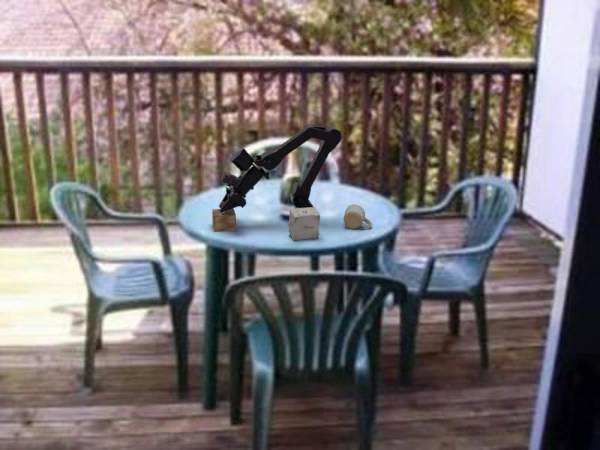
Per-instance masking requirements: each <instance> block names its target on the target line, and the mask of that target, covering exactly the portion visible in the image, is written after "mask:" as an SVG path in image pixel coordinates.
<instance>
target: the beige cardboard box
mask: <svg viewBox="0 0 600 450" xmlns="http://www.w3.org/2000/svg"><path fill="white" fill-rule="evenodd" d="M288 220H289V221H288V233H289V235H290V236H291V239H292V241H293V242H295V241H296V242H297V241H300V240H309V239H311V240H312V239H314V240H316V239H318V238H320V231H319V230H320V221H321V214H320V213H319V211H318V210H317V208H316V207H315V206H313V207H308V208H296V207H293V208H289V218H288Z"/></svg>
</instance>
